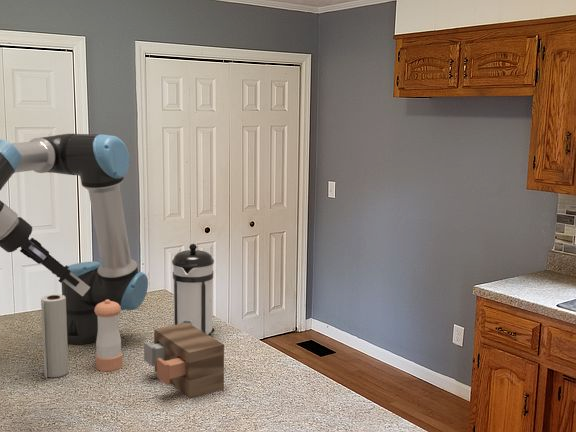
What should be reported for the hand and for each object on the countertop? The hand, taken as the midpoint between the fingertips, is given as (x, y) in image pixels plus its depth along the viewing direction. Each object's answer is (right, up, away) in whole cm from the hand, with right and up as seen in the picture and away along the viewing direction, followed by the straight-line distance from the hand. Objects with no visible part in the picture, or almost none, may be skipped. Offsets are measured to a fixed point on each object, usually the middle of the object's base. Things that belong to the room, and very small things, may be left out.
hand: (85, 291), depth 149 cm
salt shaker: (-2, -24, +26) cm, 36 cm away
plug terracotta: (+22, -23, +11) cm, 33 cm away
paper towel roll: (-15, -25, +20) cm, 35 cm away
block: (+21, -26, +18) cm, 38 cm away
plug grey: (+17, -21, +22) cm, 34 cm away
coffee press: (+18, -20, +51) cm, 58 cm away
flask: (+18, -23, +36) cm, 46 cm away
